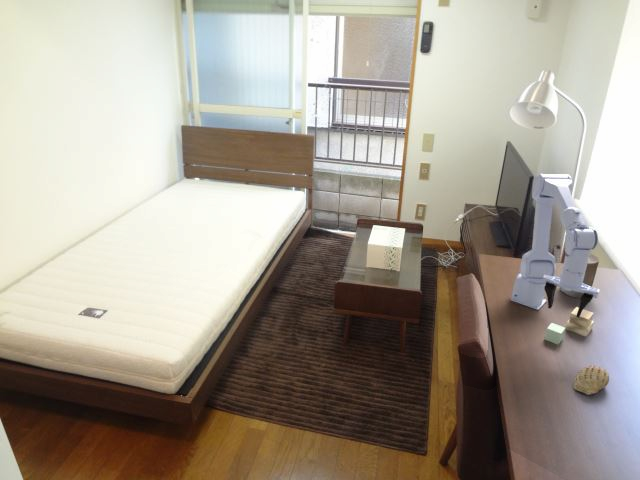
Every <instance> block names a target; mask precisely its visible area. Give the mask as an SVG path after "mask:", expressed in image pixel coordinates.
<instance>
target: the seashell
mask: <svg viewBox="0 0 640 480" xmlns="http://www.w3.org/2000/svg"><path fill="white" fill-rule="evenodd" d="M606 370H607V369H605V368H601V366H595V365H588V366H587V367H586V366H585V367H583V368H582V369H580V370H579V371H578V372H577V374H576V376H575V377H574V380H573V383H572V387H573V389H574V391H578V392H581V393H584V394H586V395H587V396H589V395H593V394H597V393H599V391H601V390H603V389H604V388H605V387H607V386H608V384H609V382H610V376H609V375H610V374H609V373H608V371H606Z"/></svg>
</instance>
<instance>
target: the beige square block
mask: <svg viewBox="0 0 640 480" xmlns="http://www.w3.org/2000/svg"><path fill="white" fill-rule="evenodd" d="M578 310H579V307H578V306H576V307H575V308H574V309H573V311H571V313H570V315H569V318H568V320H569V322H572V323H575V324H577V325H580V326H583V327H585V328H587V326H588V325H589V324H590V322H591V321H593V318H594V312H592V311H589V310H587V309H585V308H584V309H583V310H582V312H581V315H580V317H576V316H577V312H578Z"/></svg>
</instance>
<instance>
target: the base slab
mask: <svg viewBox="0 0 640 480" xmlns="http://www.w3.org/2000/svg"><path fill="white" fill-rule="evenodd" d="M594 323H595V321H594V320H592V321H591V322H590V324H589V325H588V326H587V328H585V327H583V326H580V325H577V324H575V323H572V322H569V319H568V320H567V321H566V326H565V330H567V331H569V332H573V333H574V334H577V335H581V336H583V337H585V338H587V337H588V336H589V334H590V332H591V330H593V326H594Z"/></svg>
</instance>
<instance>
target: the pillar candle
mask: <svg viewBox="0 0 640 480" xmlns="http://www.w3.org/2000/svg"><path fill="white" fill-rule="evenodd" d="M599 262H600V259H599V257H598V256H596V255H595V254H592V253H590V255H589V259H588V263H587V267H586V271H585V275H584V279H583V284H586V285H588V286H591V287H593V284H594V282H595V278H596V274H597V269H598V267H599ZM559 289H560V291H561V292H563V293H564V294H565V295H567V296H569V297H571V298H577V299H581V297H582V295H583V293H580V292H576V291H573V290H571V291H568V290H564V289H563V288H562V287H559Z"/></svg>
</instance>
